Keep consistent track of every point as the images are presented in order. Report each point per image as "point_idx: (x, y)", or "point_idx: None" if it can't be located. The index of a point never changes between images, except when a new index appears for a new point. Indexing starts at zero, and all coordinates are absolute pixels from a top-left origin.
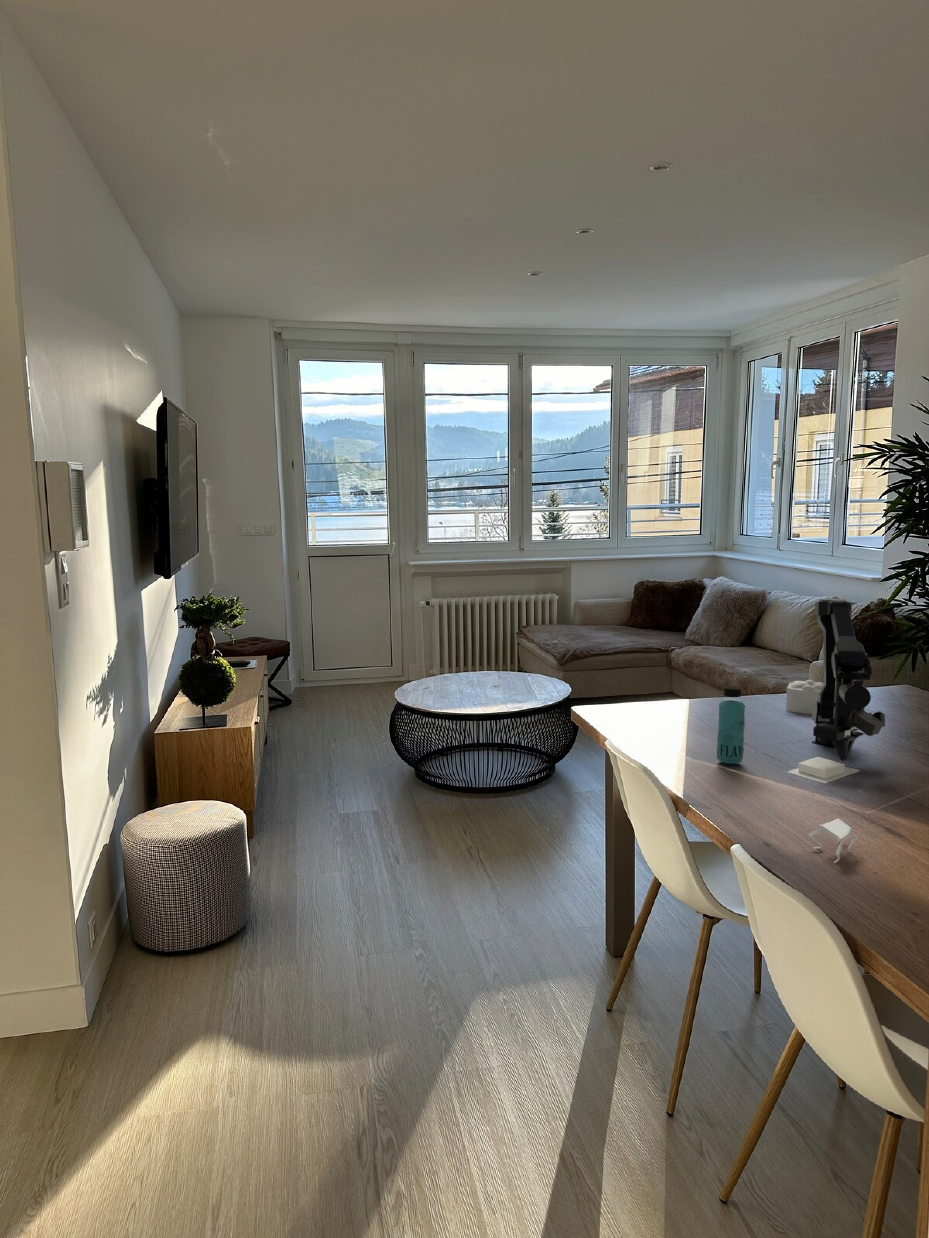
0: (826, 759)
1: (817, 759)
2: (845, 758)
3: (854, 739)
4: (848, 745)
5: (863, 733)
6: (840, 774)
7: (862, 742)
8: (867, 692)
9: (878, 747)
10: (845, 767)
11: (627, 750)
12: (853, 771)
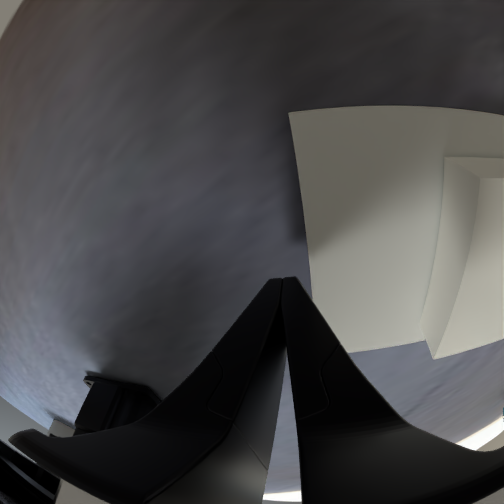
0: (457, 312)
1: (481, 329)
2: (291, 286)
3: (169, 434)
4: (295, 383)
5: (11, 443)
6: (483, 149)
7: (39, 355)
8: None
9: (12, 315)
10: (332, 221)
11: (496, 435)
12: (363, 128)
